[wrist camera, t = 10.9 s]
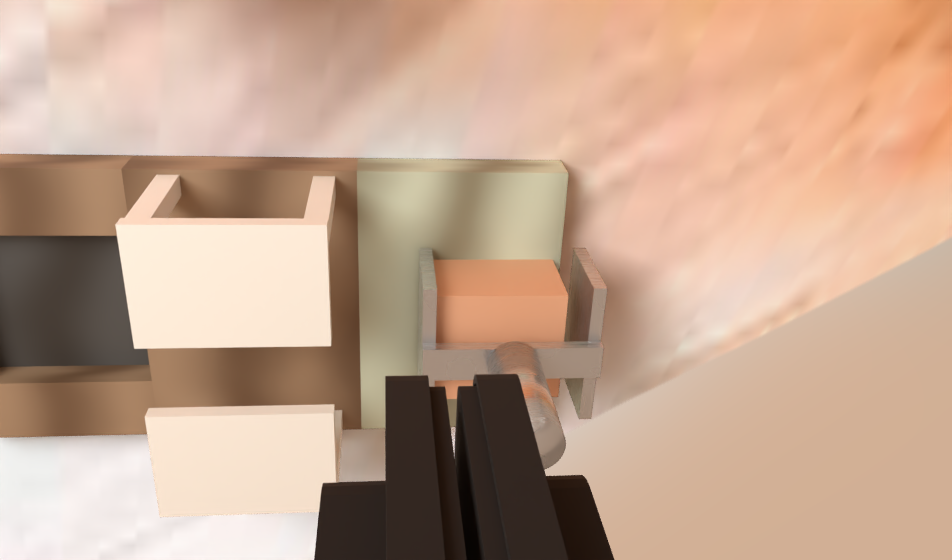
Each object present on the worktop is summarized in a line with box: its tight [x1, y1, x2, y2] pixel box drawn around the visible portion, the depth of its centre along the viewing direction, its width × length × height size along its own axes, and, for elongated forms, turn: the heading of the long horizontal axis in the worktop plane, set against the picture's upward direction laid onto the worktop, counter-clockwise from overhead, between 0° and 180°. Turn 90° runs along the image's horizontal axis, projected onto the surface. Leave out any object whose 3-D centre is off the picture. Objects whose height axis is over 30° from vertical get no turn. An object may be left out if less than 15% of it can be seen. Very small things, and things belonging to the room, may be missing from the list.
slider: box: [417, 248, 607, 469], centre depth 38 cm, size 8×7×11 cm
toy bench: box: [115, 175, 343, 517], centre depth 39 cm, size 8×14×6 cm, turn 178°
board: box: [0, 154, 569, 437], centre depth 43 cm, size 30×14×2 cm, turn 88°
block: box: [433, 259, 568, 399], centre depth 41 cm, size 6×6×4 cm
